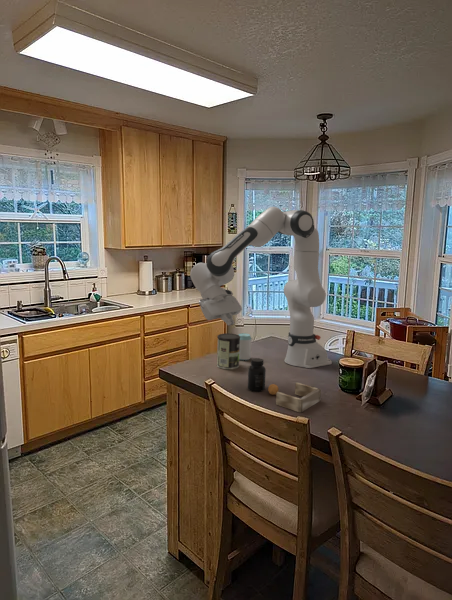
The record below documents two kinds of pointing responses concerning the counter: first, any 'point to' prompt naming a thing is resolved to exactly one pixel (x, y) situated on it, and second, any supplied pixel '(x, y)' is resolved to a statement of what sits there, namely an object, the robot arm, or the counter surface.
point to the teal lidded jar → (245, 346)
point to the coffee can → (228, 351)
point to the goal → (299, 404)
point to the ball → (273, 389)
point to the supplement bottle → (256, 375)
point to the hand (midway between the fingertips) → (231, 324)
